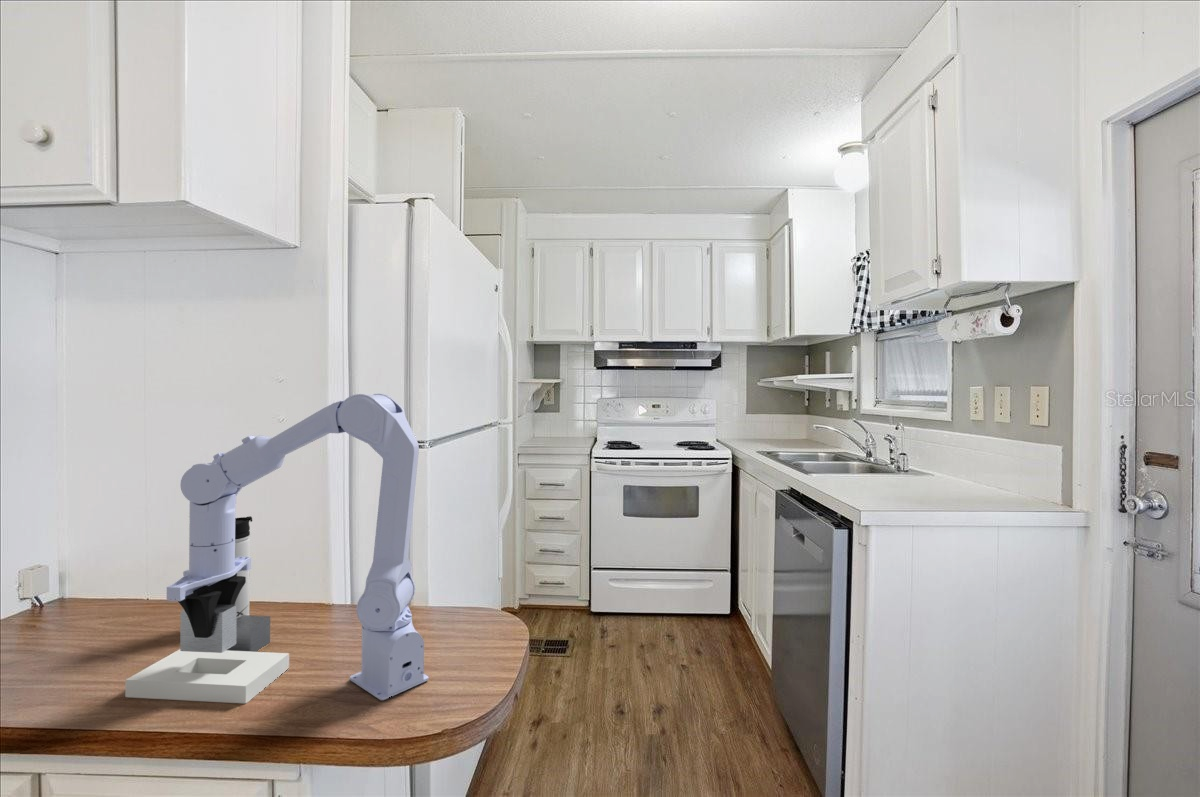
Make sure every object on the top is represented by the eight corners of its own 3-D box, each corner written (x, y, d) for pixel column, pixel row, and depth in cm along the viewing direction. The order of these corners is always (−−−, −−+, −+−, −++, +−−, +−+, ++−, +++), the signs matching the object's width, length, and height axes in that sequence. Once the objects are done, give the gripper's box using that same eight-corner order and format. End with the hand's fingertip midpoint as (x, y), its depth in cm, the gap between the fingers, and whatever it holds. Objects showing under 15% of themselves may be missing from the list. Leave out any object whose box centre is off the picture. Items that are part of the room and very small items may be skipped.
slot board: (289, 669, 90) (289, 653, 90) (245, 703, 80) (245, 686, 80) (181, 663, 91) (181, 648, 91) (125, 697, 81) (125, 679, 81)
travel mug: (250, 627, 105) (251, 520, 105) (207, 635, 102) (208, 524, 101) (252, 615, 110) (253, 513, 110) (211, 622, 107) (212, 517, 107)
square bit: (270, 644, 98) (270, 616, 98) (250, 658, 93) (250, 628, 93) (242, 643, 99) (242, 615, 99) (221, 657, 94) (221, 627, 94)
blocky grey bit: (236, 643, 87) (236, 604, 87) (222, 652, 84) (222, 612, 84) (196, 642, 87) (196, 603, 87) (180, 651, 84) (180, 610, 84)
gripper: (222, 529, 93) (221, 611, 93) (145, 554, 78) (145, 652, 78) (263, 530, 92) (262, 613, 92) (194, 556, 78) (193, 654, 78)
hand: (211, 631), depth 85 cm, fingers closed on blocky grey bit, 3 cm apart
